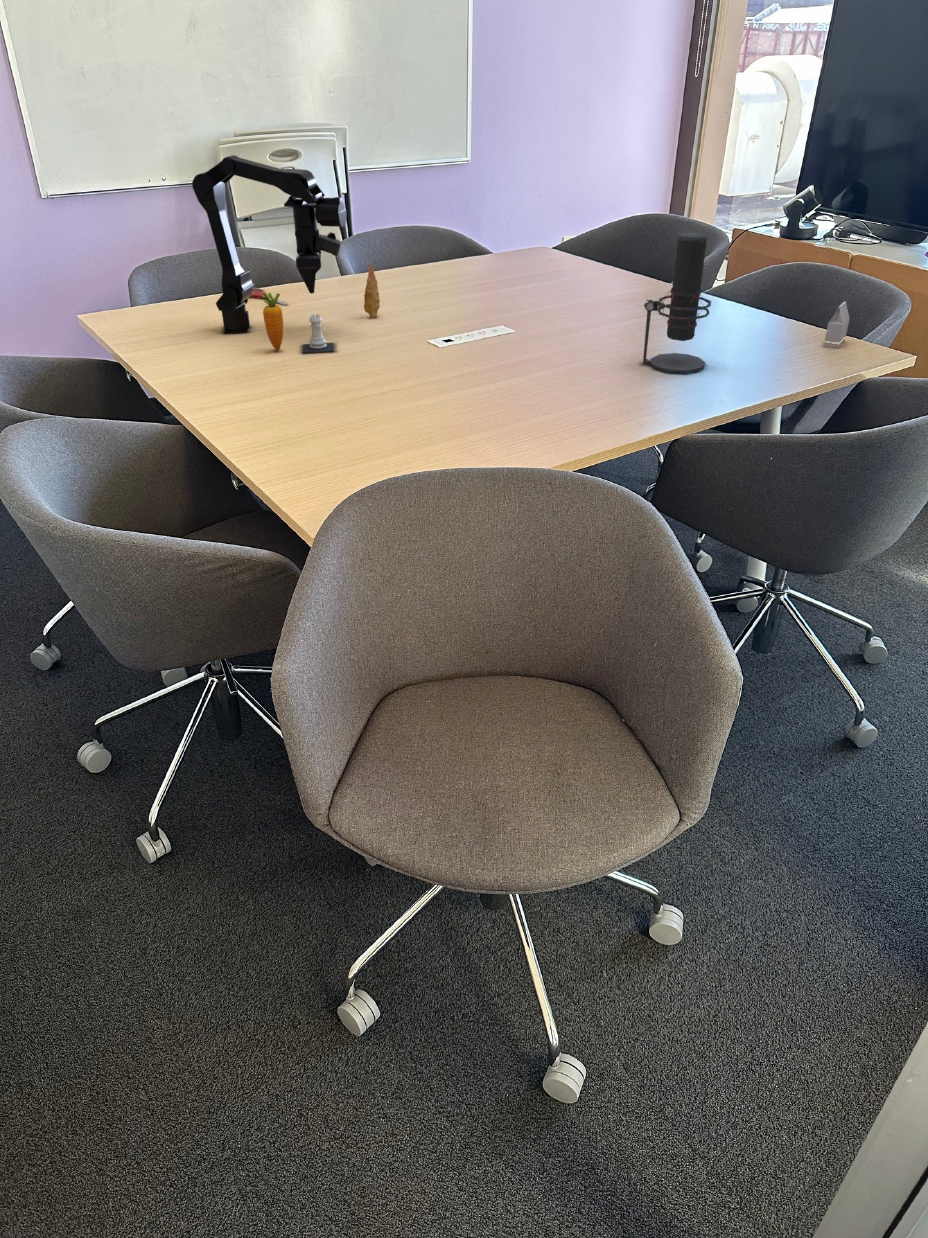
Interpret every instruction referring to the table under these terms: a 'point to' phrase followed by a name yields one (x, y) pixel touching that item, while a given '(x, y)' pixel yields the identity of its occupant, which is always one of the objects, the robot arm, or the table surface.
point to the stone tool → (371, 294)
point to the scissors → (259, 294)
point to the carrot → (273, 320)
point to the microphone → (681, 305)
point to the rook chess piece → (316, 333)
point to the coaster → (327, 349)
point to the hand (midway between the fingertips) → (312, 288)
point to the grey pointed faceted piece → (837, 327)
